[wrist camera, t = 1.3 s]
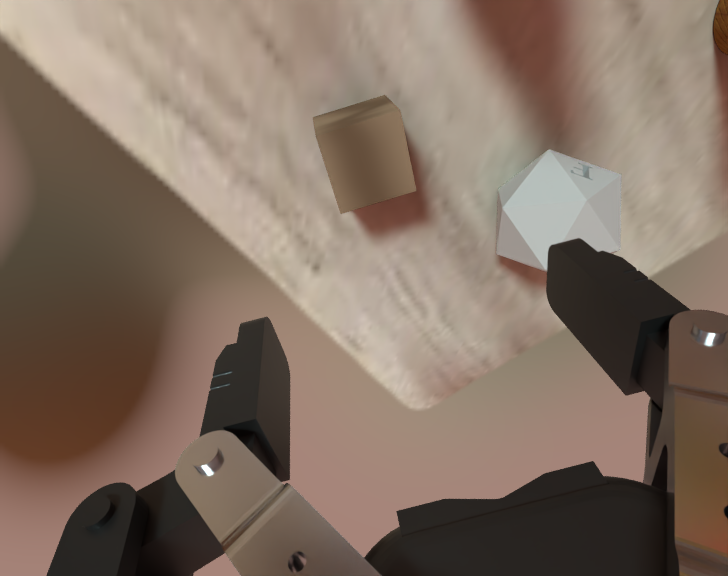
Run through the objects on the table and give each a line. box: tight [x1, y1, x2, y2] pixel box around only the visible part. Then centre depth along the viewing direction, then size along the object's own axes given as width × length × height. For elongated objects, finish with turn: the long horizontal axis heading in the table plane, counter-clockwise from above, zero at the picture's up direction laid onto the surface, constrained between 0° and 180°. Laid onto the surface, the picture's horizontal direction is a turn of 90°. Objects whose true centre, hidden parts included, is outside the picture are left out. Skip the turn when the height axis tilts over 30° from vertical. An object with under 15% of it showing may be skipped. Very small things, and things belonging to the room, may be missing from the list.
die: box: [496, 149, 621, 272], centre depth 31 cm, size 8×9×10 cm
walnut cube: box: [313, 95, 416, 214], centre depth 28 cm, size 5×5×5 cm
